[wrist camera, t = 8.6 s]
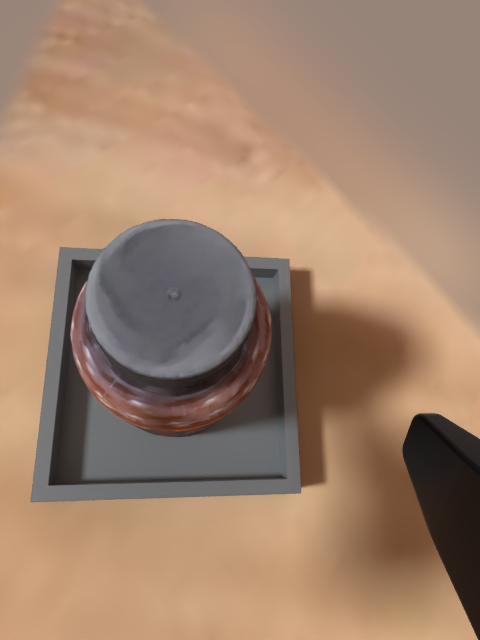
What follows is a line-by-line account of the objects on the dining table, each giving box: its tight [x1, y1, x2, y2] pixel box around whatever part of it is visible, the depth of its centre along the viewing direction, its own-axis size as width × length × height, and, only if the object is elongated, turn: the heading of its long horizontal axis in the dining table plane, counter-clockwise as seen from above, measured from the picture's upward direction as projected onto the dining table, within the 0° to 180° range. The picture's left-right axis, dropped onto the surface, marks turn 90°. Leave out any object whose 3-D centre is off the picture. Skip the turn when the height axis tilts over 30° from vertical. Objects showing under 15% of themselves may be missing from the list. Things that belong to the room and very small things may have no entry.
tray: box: [31, 247, 301, 502], centre depth 20 cm, size 11×11×2 cm
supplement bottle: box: [70, 219, 272, 437], centre depth 15 cm, size 6×6×11 cm
